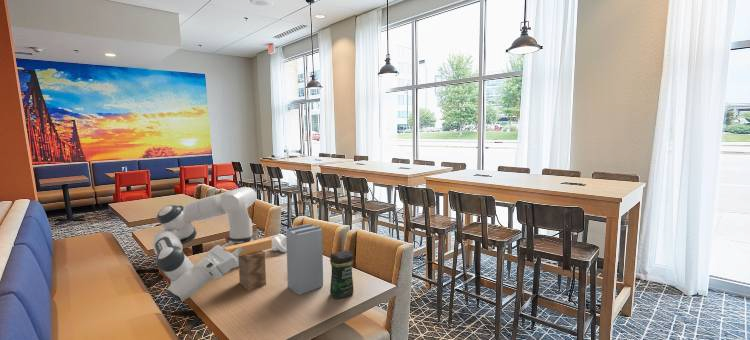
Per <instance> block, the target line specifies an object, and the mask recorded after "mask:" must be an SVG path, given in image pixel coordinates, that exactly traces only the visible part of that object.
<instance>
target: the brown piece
mask: <svg viewBox="0 0 750 340" xmlns="http://www.w3.org/2000/svg"><path fill="white" fill-rule="evenodd" d="M238 257H239V267H238V273H239V275H238V276H239V277H238V278H239V283H240V284H241V285H242V286H243V287H245V288H246V289H247V290H248V291H250V290H253V289H256V288H258V287H259V288H260V287H261V286H265V285H267V275H266V274H267V273H266V251H265V250H262V251H258V252H254V253H250V254H246V255H242V256H238Z"/></svg>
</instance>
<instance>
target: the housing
mask: <svg viewBox="0 0 750 340" xmlns="http://www.w3.org/2000/svg"><path fill="white" fill-rule="evenodd" d="M285 234H286V235H285V236H286V242H287V251H286V270H287V271H286V272H287V287H288V288H289V290H292V291H293V292H295V293H296V294H297V295H302V294H305V293H309V292H311V291H313V290H316V289H318V288H322V287H324V256H323V254H324V252H323V251H324V250H323V228H321V226H320V225H317V226H314V224H313V223H312V222H311V223H306V224H302V225H298V226H297V225H296V226H292V227H289V228H287V229H286V230H285Z"/></svg>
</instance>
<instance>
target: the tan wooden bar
mask: <svg viewBox="0 0 750 340" xmlns="http://www.w3.org/2000/svg"><path fill="white" fill-rule="evenodd" d="M272 241H273V239H271V238H269V237H265V238H259V239H256V240H254V241H251V242H246V243H242V244H237V245H233V246H228V247H224V249H225V250H226V251H228V252H230V253H233V252H235V251H236V248H238V247H239V246H240V247H241V248H242V249H243V250H242V251H241V252H240V253H239V255H238V256H242V255H246V254H250V253H254V252H258V251H266V250H269V249H272ZM238 256H237V257H238Z"/></svg>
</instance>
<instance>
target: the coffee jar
mask: <svg viewBox="0 0 750 340" xmlns="http://www.w3.org/2000/svg"><path fill="white" fill-rule="evenodd" d="M329 260H330V261H329V262H330V265H331V274H330V275H331V277H330V286H329V288H330V289H329V294H330V295H331V296H332V297H333V298H336V299H342V298H346V297H348V296H352V295H353V294H354V290H355V289H354V281H353V279H354V278H353V263H354V254H353V252H352V251H350V250H348V249H345V250H342V251H338V252H337V251H336V252H333V253H331V254H330V259H329Z"/></svg>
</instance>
